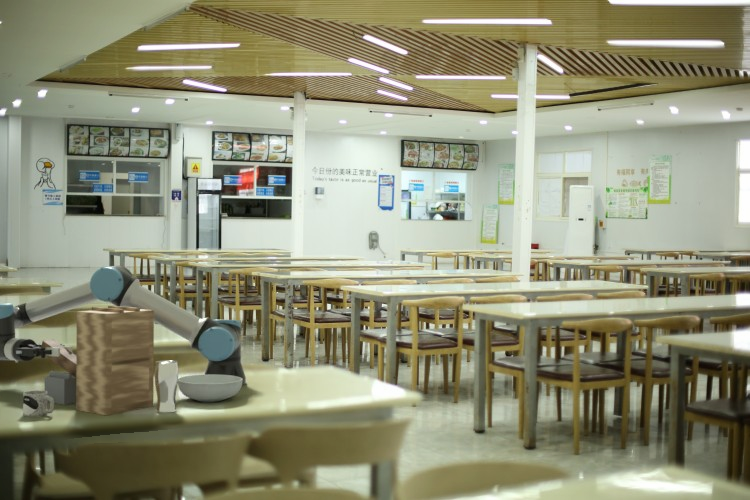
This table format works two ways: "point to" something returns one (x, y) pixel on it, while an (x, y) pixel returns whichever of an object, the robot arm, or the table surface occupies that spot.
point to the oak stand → (114, 359)
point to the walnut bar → (62, 356)
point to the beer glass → (166, 385)
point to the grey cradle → (61, 387)
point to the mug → (36, 403)
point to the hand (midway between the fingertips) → (65, 351)
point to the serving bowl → (210, 387)
